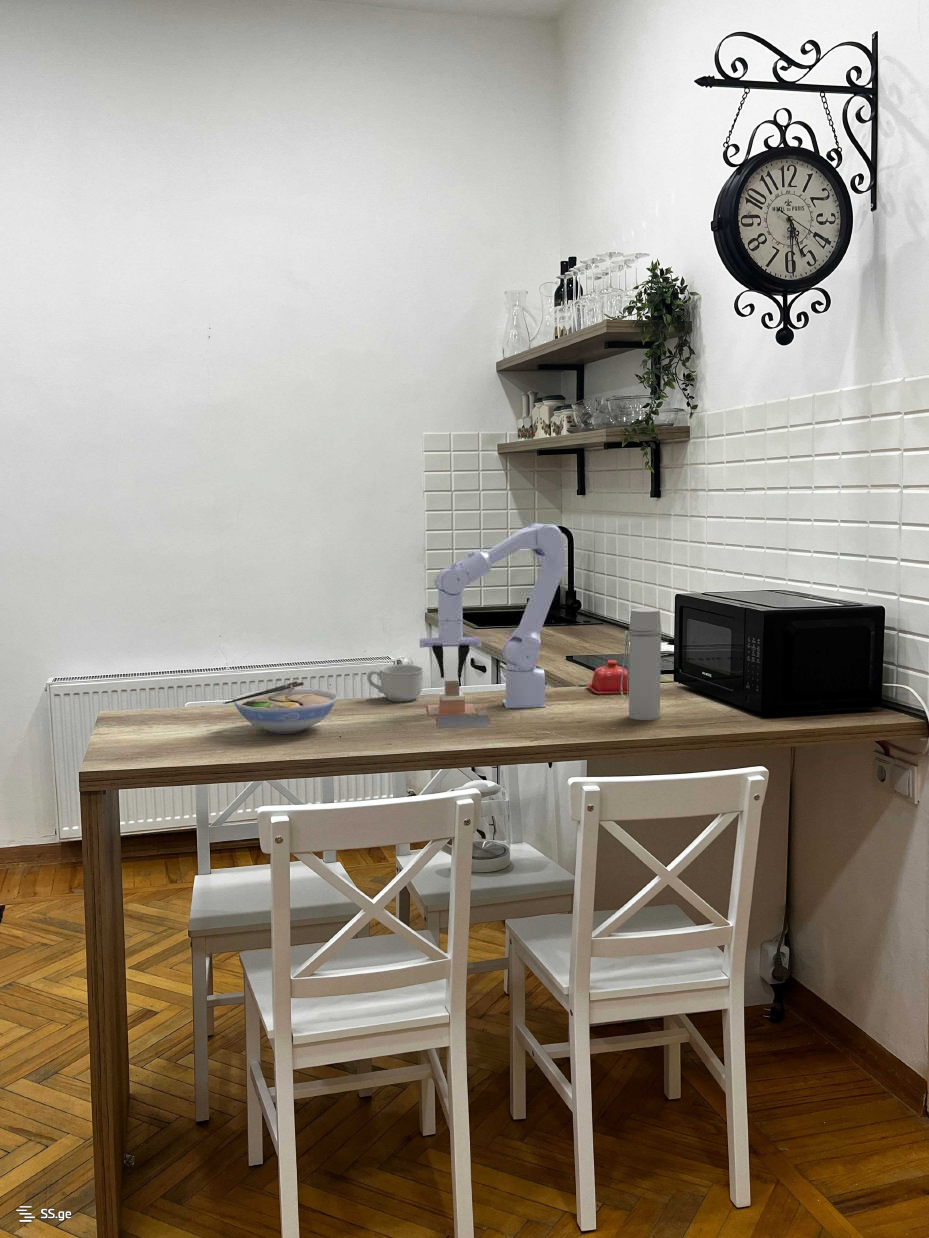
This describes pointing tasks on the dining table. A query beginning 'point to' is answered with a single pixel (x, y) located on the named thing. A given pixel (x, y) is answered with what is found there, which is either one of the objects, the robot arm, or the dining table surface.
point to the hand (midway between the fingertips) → (450, 677)
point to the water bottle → (643, 664)
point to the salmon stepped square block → (451, 708)
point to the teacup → (399, 681)
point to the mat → (463, 721)
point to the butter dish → (609, 679)
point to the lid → (452, 691)
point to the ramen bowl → (285, 707)
